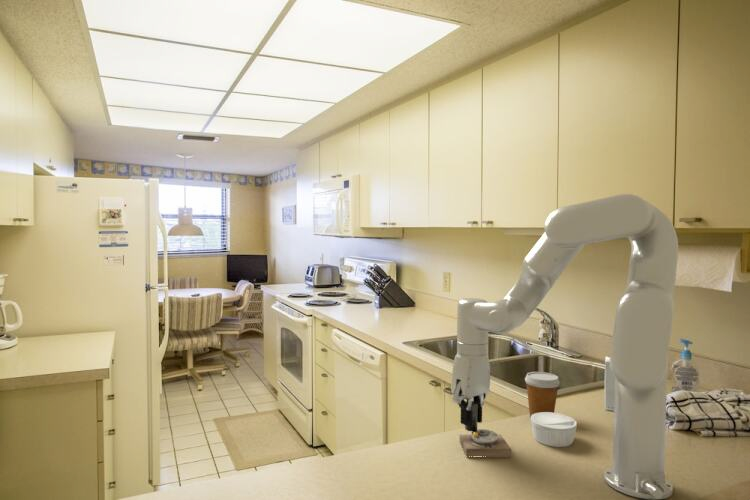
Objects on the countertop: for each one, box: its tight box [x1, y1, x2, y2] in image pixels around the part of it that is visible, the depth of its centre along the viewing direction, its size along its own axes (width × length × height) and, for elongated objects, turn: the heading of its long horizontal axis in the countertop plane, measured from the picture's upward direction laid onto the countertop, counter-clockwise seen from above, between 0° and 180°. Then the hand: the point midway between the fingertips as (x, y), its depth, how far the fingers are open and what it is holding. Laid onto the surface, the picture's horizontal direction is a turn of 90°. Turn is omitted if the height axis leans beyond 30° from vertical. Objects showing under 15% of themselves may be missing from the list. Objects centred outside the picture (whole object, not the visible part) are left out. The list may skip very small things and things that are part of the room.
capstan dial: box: [464, 400, 498, 445], centre depth 121 cm, size 7×8×8 cm
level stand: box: [459, 434, 512, 458], centre depth 120 cm, size 8×10×2 cm
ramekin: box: [530, 412, 578, 448], centre depth 127 cm, size 11×11×5 cm
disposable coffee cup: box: [524, 371, 561, 418], centre depth 142 cm, size 10×10×12 cm
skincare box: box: [604, 355, 615, 412], centre depth 151 cm, size 8×6×15 cm
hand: (471, 422), depth 123 cm, fingers closed on capstan dial, 3 cm apart
